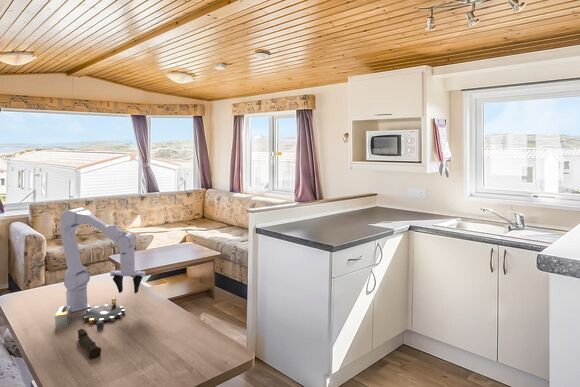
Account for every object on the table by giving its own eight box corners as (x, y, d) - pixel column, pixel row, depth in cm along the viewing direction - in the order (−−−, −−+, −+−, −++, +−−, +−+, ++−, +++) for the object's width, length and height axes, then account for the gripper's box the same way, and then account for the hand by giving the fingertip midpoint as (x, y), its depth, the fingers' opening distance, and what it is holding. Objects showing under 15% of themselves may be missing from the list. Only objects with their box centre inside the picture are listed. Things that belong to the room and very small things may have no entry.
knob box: (61, 318, 169) (60, 306, 169) (71, 317, 171) (71, 305, 170) (55, 328, 160) (55, 315, 159) (67, 327, 161) (66, 314, 161)
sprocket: (76, 315, 171) (75, 303, 171) (114, 304, 183) (114, 293, 183) (92, 327, 161) (91, 314, 160) (131, 315, 172) (131, 303, 172)
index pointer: (98, 326, 162) (97, 320, 162) (103, 325, 163) (103, 319, 163) (97, 329, 159) (96, 323, 159) (102, 328, 160) (102, 322, 160)
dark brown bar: (101, 357, 139) (101, 344, 139) (89, 361, 137) (88, 347, 136) (87, 337, 154) (87, 325, 153) (76, 340, 151) (75, 328, 151)
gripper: (106, 264, 171) (107, 295, 173) (140, 264, 171) (141, 296, 172) (114, 259, 178) (115, 289, 180) (146, 260, 178) (147, 290, 179)
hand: (128, 292), depth 176 cm, fingers open, 6 cm apart
